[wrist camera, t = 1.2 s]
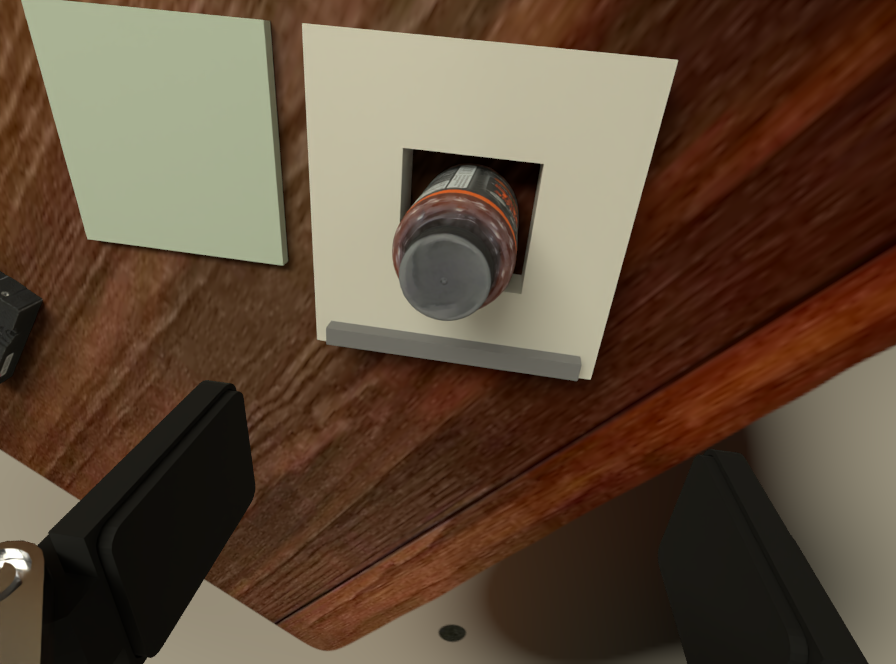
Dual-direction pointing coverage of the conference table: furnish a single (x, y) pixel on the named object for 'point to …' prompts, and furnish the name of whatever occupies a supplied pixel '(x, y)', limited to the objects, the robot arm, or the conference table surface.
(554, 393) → the conference table surface
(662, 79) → the dispenser block
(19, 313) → the disk drive
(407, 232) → the supplement bottle
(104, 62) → the sage mat
